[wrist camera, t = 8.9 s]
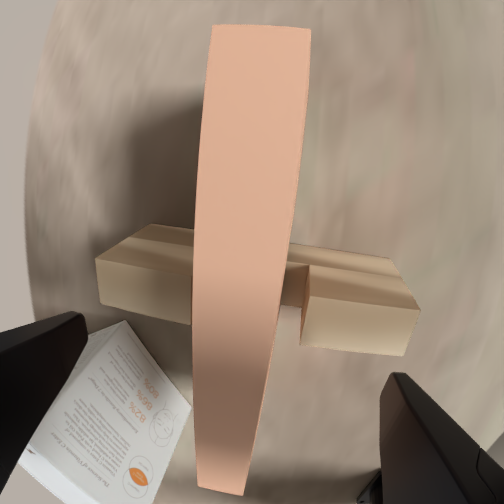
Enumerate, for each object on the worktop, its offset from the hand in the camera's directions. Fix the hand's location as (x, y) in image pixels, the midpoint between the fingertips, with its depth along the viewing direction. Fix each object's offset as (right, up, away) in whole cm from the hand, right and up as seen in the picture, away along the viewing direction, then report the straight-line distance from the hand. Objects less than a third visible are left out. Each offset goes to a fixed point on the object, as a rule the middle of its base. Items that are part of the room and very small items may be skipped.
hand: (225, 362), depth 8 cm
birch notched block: (+1, +3, +7) cm, 8 cm away
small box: (-7, -5, +12) cm, 15 cm away
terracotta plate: (+1, +3, +7) cm, 8 cm away
